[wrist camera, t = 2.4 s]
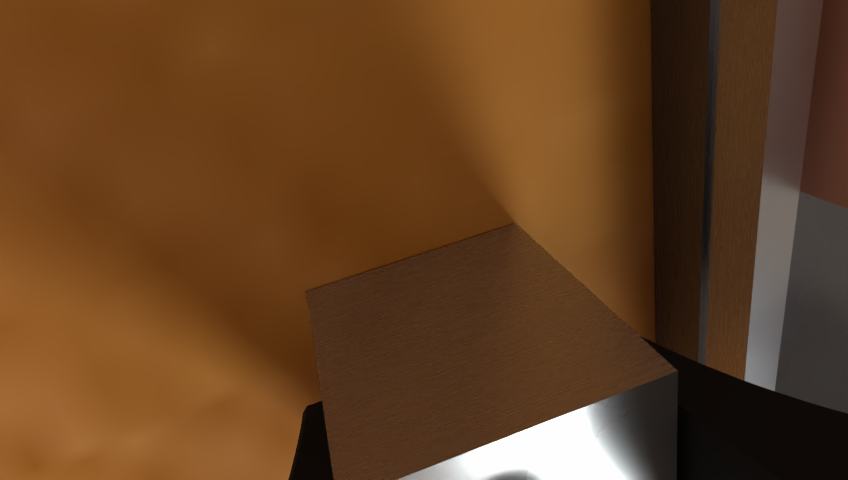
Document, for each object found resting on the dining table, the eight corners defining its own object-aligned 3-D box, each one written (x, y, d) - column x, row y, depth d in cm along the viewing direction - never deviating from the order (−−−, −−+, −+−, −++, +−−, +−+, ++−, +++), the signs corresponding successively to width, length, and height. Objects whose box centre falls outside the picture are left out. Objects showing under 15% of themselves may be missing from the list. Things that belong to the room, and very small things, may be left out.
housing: (541, 397, 14) (719, 654, 8) (370, 462, 13) (445, 786, 8) (515, 223, 11) (739, 427, 6) (306, 291, 11) (349, 586, 5)
